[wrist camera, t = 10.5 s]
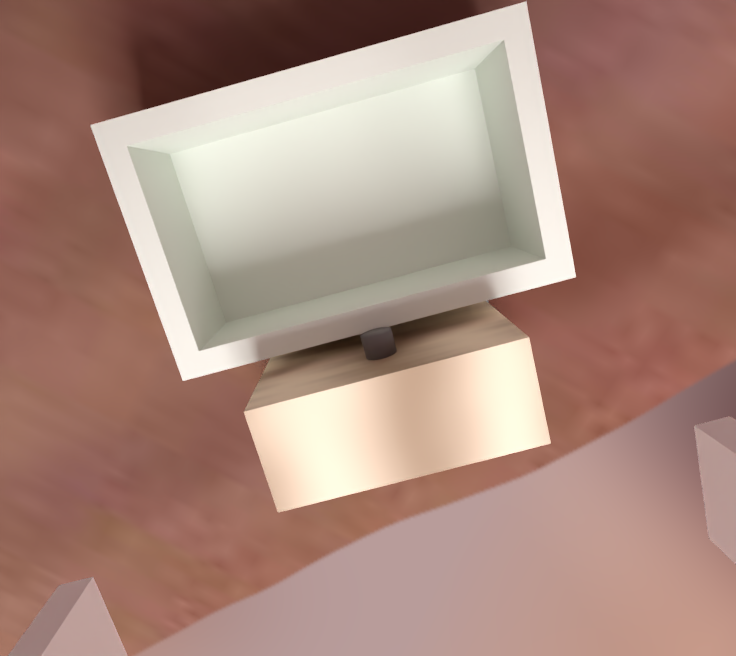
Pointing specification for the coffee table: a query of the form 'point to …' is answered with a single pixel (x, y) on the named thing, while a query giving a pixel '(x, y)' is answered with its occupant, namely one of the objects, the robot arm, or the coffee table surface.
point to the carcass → (344, 193)
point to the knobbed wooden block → (395, 405)
